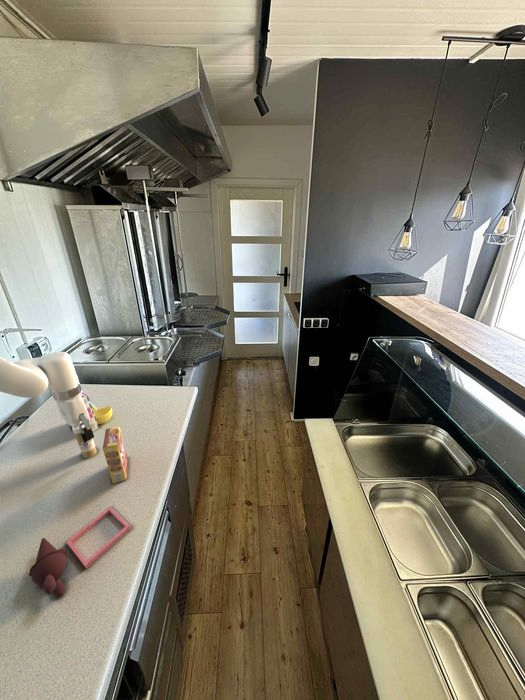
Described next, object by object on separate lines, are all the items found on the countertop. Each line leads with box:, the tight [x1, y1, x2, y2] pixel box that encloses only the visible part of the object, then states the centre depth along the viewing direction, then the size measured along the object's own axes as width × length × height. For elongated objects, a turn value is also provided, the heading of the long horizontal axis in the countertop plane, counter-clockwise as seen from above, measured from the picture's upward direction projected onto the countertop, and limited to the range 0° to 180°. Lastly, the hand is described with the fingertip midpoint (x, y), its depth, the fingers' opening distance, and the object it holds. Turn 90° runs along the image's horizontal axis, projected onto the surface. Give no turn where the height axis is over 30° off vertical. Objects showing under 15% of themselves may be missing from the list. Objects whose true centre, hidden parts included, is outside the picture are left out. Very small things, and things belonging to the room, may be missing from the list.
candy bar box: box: [80, 391, 100, 432], centre depth 109 cm, size 11×5×16 cm, turn 59°
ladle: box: [90, 401, 113, 425], centre depth 121 cm, size 9×26×6 cm, turn 48°
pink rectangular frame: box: [65, 506, 132, 569], centre depth 74 cm, size 12×10×2 cm
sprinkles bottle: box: [72, 421, 98, 459], centre depth 97 cm, size 5×5×14 cm
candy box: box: [102, 426, 129, 484], centre depth 90 cm, size 9×4×15 cm, turn 20°
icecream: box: [28, 537, 68, 599], centre depth 66 cm, size 7×7×15 cm
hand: (83, 434), depth 96 cm, fingers open, 7 cm apart
